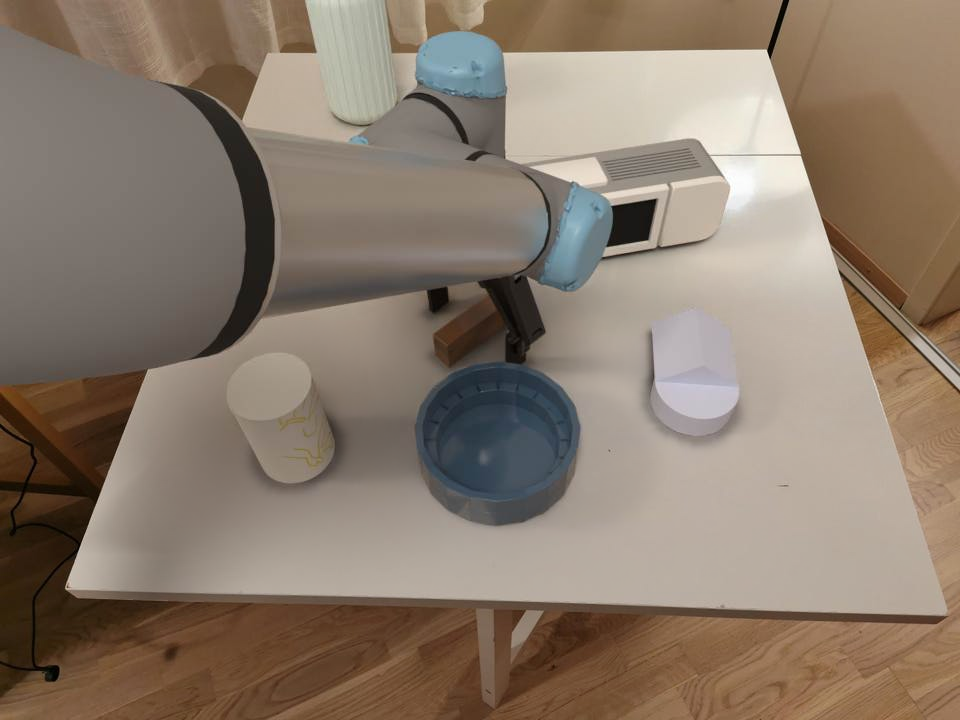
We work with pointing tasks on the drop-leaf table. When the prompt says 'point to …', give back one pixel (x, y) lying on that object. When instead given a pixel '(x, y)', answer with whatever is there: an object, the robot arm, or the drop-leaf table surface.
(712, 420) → the wedge on round base
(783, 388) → the drop-leaf table surface
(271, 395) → the white patterned canister
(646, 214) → the alarm clock
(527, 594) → the drop-leaf table surface
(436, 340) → the stick
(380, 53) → the vase
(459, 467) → the bowl
